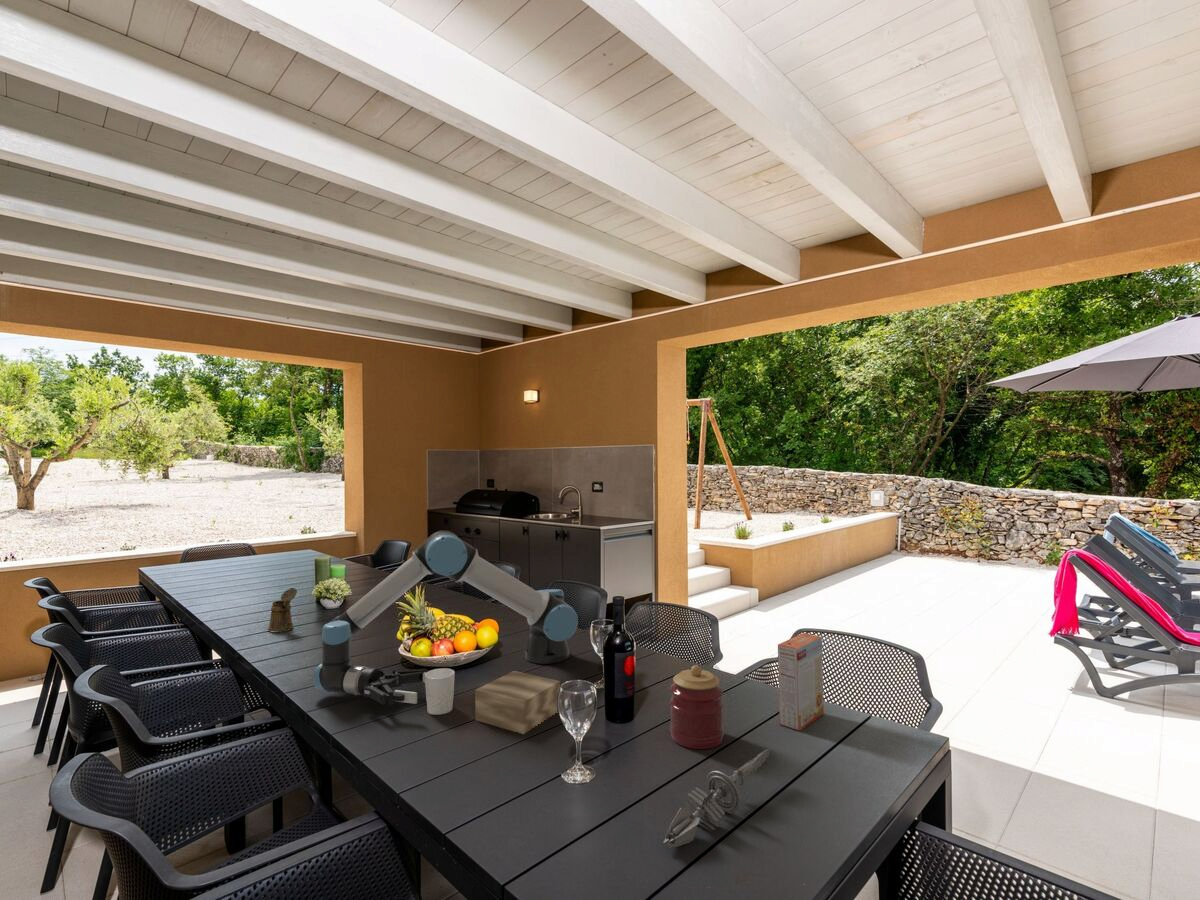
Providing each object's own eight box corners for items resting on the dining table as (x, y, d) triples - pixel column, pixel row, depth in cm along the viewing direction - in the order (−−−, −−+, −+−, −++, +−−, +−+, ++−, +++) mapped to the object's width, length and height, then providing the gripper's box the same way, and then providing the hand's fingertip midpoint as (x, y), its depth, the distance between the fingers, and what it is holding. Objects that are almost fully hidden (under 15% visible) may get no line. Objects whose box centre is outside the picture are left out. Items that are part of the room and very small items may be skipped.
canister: (660, 731, 149) (660, 661, 149) (704, 722, 154) (703, 654, 154) (688, 755, 137) (687, 678, 137) (734, 744, 142) (733, 670, 143)
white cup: (446, 717, 158) (446, 679, 158) (419, 714, 160) (419, 677, 160) (459, 705, 166) (459, 669, 166) (433, 702, 168) (433, 667, 168)
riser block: (514, 698, 170) (514, 670, 170) (560, 710, 162) (559, 681, 162) (475, 720, 156) (475, 689, 156) (523, 734, 148) (523, 702, 148)
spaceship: (791, 749, 124) (758, 724, 129) (689, 843, 99) (654, 808, 104) (780, 777, 126) (748, 751, 131) (678, 876, 102) (645, 840, 107)
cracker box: (803, 708, 162) (802, 631, 162) (824, 715, 158) (823, 636, 158) (777, 724, 152) (776, 643, 153) (799, 732, 148) (798, 648, 148)
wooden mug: (280, 635, 233) (280, 589, 233) (263, 630, 240) (263, 585, 241) (302, 630, 240) (302, 585, 240) (285, 625, 248) (286, 582, 248)
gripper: (391, 678, 181) (453, 685, 175) (333, 712, 157) (403, 721, 151) (391, 653, 181) (453, 659, 175) (333, 683, 157) (403, 692, 151)
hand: (430, 688), depth 163 cm, fingers open, 13 cm apart
